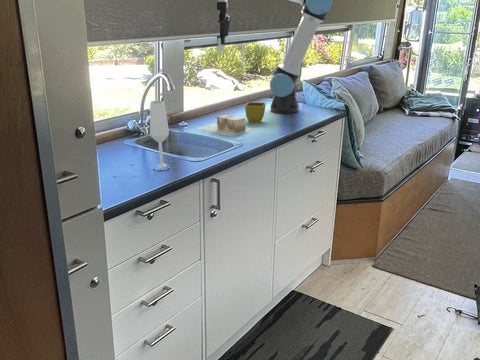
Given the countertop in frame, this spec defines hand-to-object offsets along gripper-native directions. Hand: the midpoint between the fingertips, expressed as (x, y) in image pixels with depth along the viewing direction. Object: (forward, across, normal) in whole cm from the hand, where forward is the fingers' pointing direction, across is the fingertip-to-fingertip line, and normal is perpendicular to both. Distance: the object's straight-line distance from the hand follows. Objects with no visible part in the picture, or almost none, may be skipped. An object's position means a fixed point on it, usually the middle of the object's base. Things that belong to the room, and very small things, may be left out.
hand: (221, 51), depth 251 cm
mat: (+32, +24, -23) cm, 46 cm away
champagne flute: (+32, +45, -77) cm, 95 cm away
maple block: (+29, +22, -23) cm, 42 cm away
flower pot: (+33, +24, -2) cm, 41 cm away
